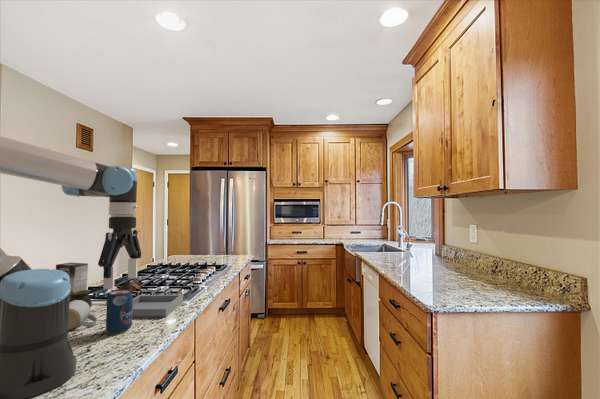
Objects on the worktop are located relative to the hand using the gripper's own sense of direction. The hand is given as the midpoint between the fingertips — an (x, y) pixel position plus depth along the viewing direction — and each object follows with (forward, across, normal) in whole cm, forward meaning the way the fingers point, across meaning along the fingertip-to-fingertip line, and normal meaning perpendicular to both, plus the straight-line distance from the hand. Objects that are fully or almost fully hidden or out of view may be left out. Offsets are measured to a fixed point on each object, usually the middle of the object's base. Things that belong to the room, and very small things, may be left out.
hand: (121, 283), depth 93 cm
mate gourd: (+15, +16, +23) cm, 32 cm away
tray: (+15, +20, -1) cm, 25 cm away
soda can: (+15, 0, 0) cm, 15 cm away
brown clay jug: (+15, +35, +15) cm, 41 cm away
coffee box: (+15, +29, +35) cm, 48 cm away
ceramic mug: (+15, +4, +16) cm, 22 cm away
